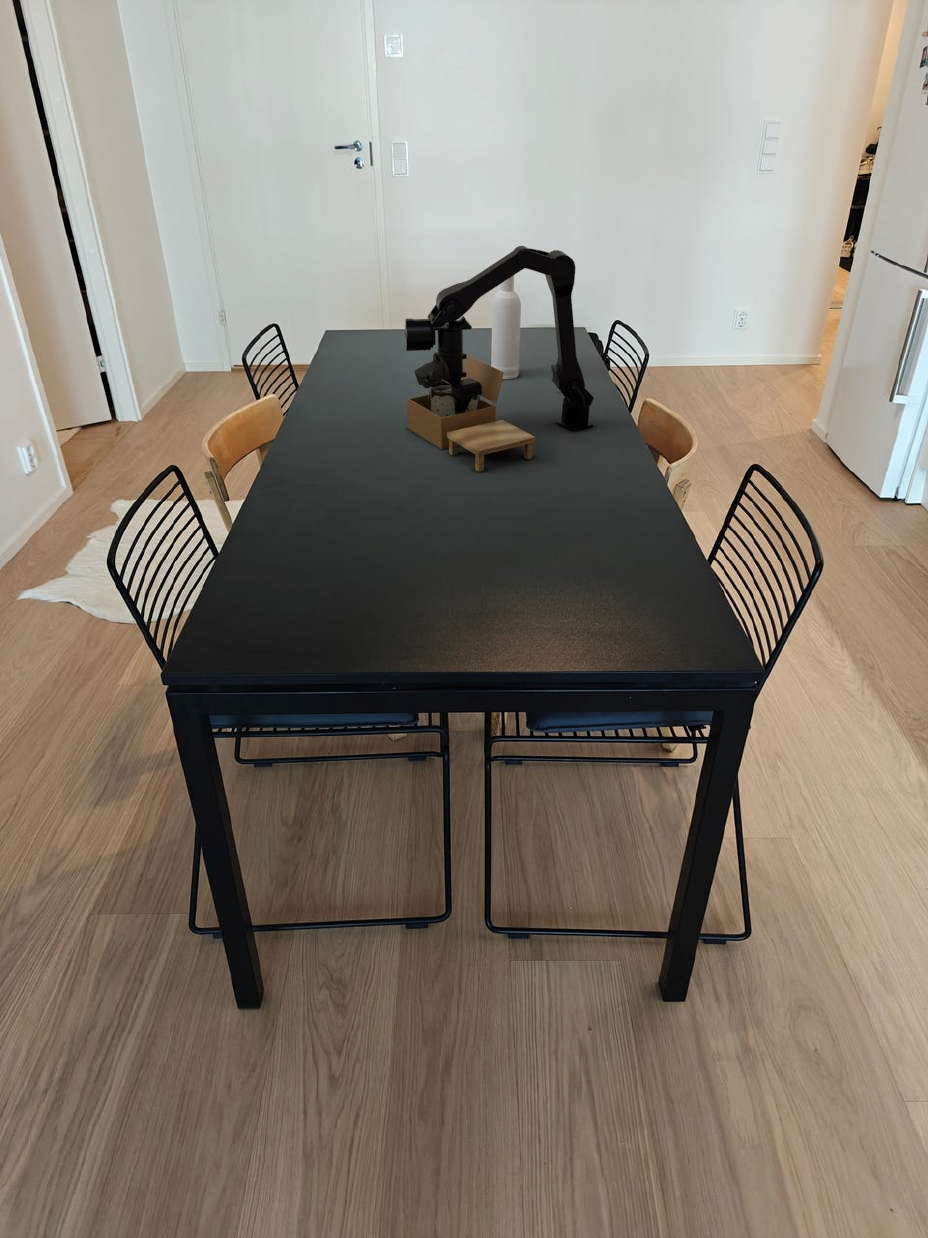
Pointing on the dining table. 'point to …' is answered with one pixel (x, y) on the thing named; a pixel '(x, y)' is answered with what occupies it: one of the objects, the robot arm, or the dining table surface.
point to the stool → (490, 440)
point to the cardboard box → (444, 420)
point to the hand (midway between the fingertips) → (450, 415)
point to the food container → (447, 401)
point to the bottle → (506, 330)
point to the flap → (484, 377)
